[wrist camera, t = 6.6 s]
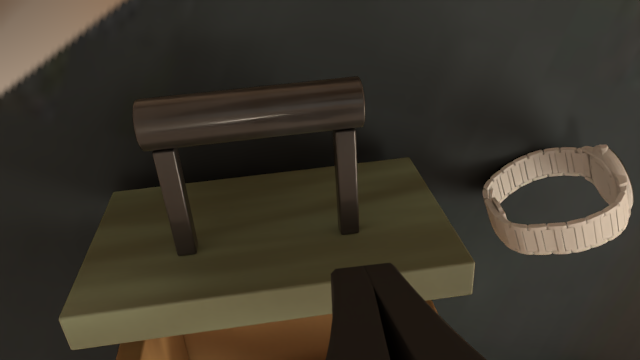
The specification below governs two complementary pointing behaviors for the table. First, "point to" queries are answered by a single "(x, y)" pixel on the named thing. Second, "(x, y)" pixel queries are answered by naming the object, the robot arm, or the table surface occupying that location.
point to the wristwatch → (577, 234)
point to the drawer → (253, 234)
